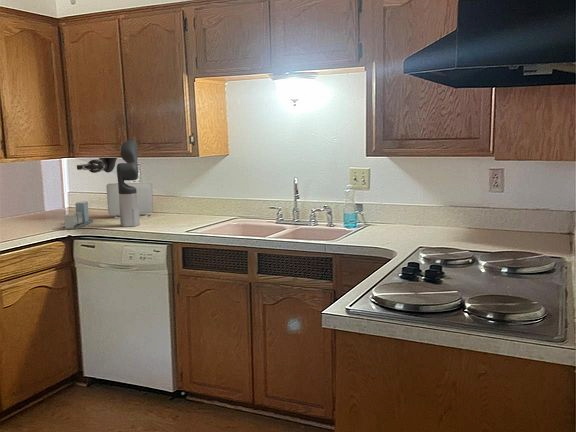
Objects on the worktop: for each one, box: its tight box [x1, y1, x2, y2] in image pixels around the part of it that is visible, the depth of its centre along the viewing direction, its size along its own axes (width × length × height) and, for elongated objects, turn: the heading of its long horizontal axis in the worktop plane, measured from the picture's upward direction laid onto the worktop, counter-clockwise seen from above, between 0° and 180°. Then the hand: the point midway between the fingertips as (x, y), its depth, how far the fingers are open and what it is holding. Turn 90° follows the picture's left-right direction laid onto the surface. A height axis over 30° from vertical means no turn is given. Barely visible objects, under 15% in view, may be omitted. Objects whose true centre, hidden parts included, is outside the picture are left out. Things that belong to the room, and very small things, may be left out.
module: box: [74, 200, 90, 223], centre depth 320 cm, size 6×5×12 cm
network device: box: [105, 181, 154, 220], centre depth 342 cm, size 26×9×20 cm, turn 108°
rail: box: [61, 211, 94, 230], centre depth 313 cm, size 23×8×8 cm, turn 178°
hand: (86, 167), depth 326 cm, fingers open, 8 cm apart
